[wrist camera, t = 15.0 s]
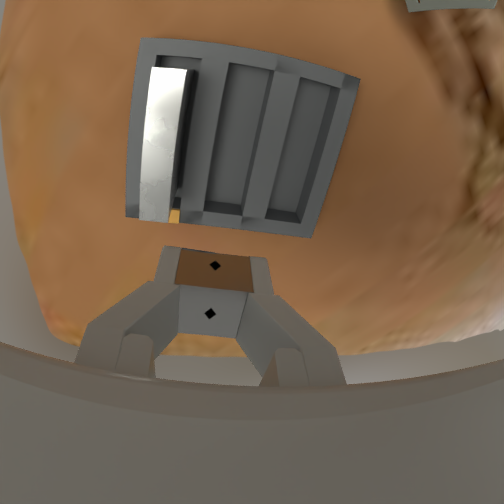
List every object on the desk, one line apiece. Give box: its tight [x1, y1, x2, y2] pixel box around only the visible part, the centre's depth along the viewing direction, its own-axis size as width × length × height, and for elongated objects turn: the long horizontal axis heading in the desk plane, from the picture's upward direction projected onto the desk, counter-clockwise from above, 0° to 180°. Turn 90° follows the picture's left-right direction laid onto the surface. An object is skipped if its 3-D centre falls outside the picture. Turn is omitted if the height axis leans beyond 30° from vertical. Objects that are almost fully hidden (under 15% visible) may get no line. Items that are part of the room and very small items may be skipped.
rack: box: [126, 38, 360, 238], centre depth 26 cm, size 19×17×4 cm
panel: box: [139, 67, 194, 223], centre depth 23 cm, size 2×12×7 cm, turn 169°
